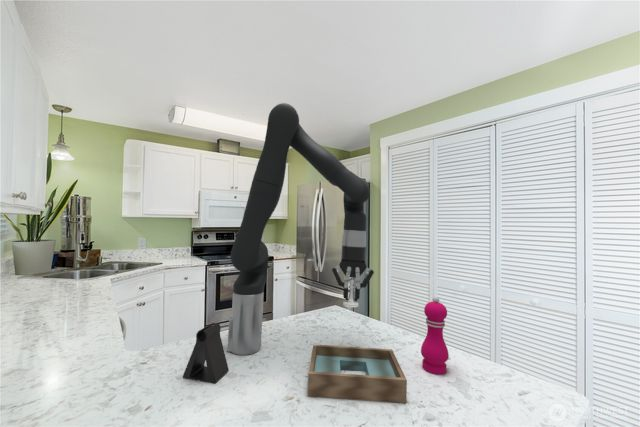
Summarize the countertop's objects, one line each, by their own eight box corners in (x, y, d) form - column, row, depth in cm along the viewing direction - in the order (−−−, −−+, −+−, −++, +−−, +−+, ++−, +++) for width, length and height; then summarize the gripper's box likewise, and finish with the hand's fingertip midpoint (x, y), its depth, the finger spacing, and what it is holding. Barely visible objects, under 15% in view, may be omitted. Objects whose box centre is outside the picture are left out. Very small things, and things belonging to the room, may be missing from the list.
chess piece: (358, 308, 87) (359, 275, 87) (342, 306, 88) (343, 273, 88) (359, 304, 91) (360, 272, 92) (343, 302, 92) (345, 271, 93)
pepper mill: (447, 365, 82) (448, 295, 83) (449, 378, 75) (451, 301, 76) (420, 360, 84) (422, 292, 85) (420, 372, 77) (422, 297, 78)
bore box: (307, 396, 64) (308, 373, 65) (312, 362, 80) (313, 344, 81) (406, 403, 63) (406, 380, 64) (391, 367, 79) (392, 349, 79)
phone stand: (182, 378, 70) (185, 328, 70) (197, 366, 75) (200, 320, 76) (215, 384, 68) (218, 332, 68) (228, 371, 74) (231, 324, 74)
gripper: (332, 244, 87) (328, 301, 86) (377, 247, 86) (375, 305, 86) (332, 242, 94) (329, 295, 94) (374, 245, 94) (371, 298, 93)
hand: (351, 299), depth 90 cm, fingers closed on chess piece, 2 cm apart
